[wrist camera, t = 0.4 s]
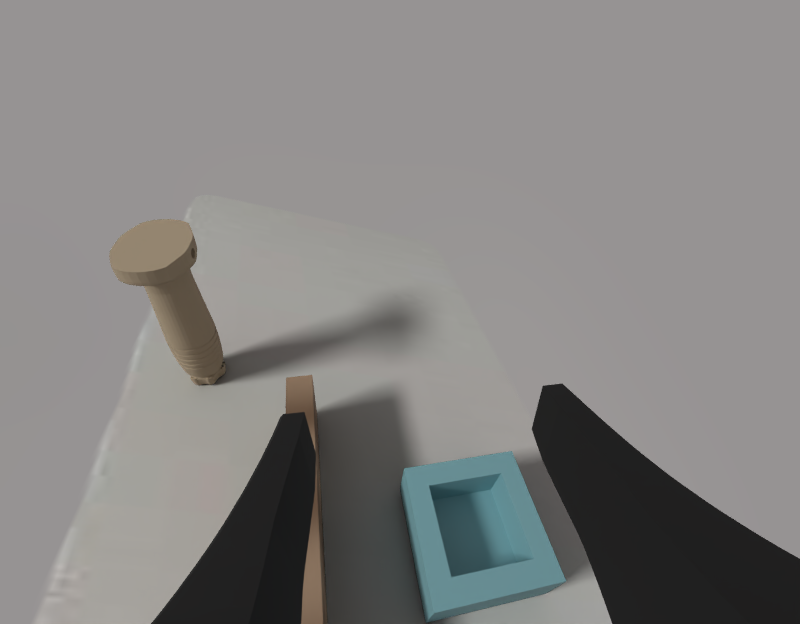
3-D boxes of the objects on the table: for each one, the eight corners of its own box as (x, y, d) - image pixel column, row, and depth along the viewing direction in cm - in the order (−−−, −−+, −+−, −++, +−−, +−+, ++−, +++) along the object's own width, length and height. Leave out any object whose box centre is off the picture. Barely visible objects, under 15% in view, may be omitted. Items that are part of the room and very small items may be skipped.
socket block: (545, 593, 27) (566, 581, 24) (425, 622, 25) (434, 613, 22) (499, 471, 32) (511, 451, 30) (400, 488, 31) (404, 468, 28)
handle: (241, 347, 40) (201, 219, 29) (228, 400, 35) (176, 272, 25) (191, 349, 39) (132, 218, 29) (172, 403, 35) (94, 272, 24)
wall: (333, 734, 21) (328, 740, 17) (295, 745, 21) (281, 754, 17) (316, 414, 35) (312, 375, 31) (294, 417, 35) (286, 377, 30)
